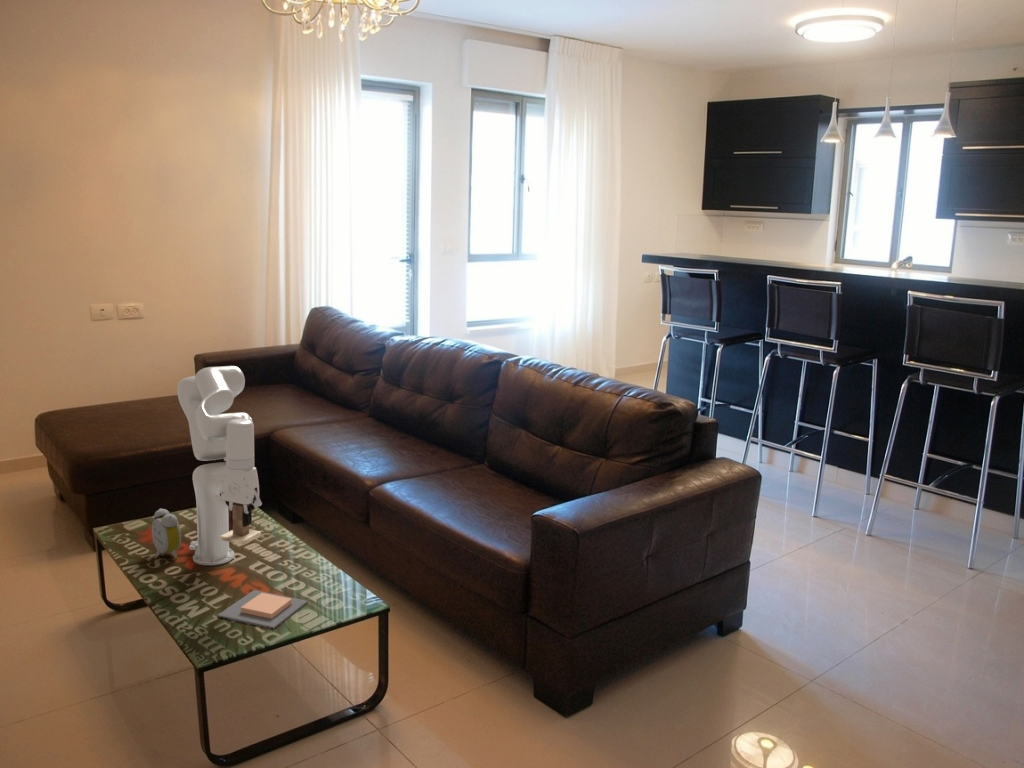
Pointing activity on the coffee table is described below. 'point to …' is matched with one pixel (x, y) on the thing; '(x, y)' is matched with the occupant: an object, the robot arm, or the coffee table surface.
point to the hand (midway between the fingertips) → (241, 523)
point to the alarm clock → (166, 533)
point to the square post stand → (240, 528)
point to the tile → (266, 605)
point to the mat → (237, 615)
